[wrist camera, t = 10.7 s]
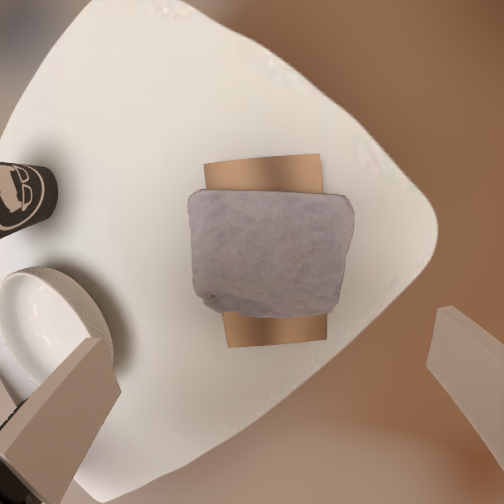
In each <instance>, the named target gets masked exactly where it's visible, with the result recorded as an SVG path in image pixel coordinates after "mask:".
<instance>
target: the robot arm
mask: <svg viewBox="0 0 504 504" xmlns="http://www.w3.org/2000/svg"><path fill="white" fill-rule="evenodd" d="M426 366H427V368H428V369H429V370H430V371H431V373H432V374H433V375H434V376H435V377H436V379H437V380H438V381H439V382H440V384H441V385H442V386H443V388H444V389H445V390H446V391H447V393H448V394H449V395H450V397H451V398H452V399H453V400H454V402H455V403H456V404H457V406H458V407H459V408H460V410H461V411H462V412H463V414H464V415H465V416H466V418H467V419H468V420H469V422H470V423H471V424H472V426H473V427H474V429H475V430H476V431H477V433H478V434H479V435H480V437H481V438H482V440H483V441H484V442H485V444H486V445H487V447H488V448H489V450H490V451H491V453H492V454H493V455H494V457H495V459H496V460H497V461H498V463H499V464H500V466H501V468H502V469H503V471H504V345H503V344H502V343H500V342H499V341H498V340H497V339H495V338H494V337H493V336H492V335H490V334H489V333H488V332H486V331H485V330H484V329H483V328H481V327H480V326H479V325H477V324H476V323H474V322H473V321H472V320H471V319H469V318H468V317H467V316H465V315H464V314H463V313H461V312H460V311H459V310H457V309H456V308H454V307H453V306H447V307H443V308H439V309H437V315H436V322H435V327H434V332H433V337H432V342H431V347H430V351H429V355H428V359H427V363H426ZM120 394H121V389H120V387H119V385H118V382H117V380H116V377H115V375H114V372H113V370H112V367H111V365H110V362H109V359H108V357H107V354H106V351H105V348H104V345H103V343H102V340H101V338H87V337H86V338H85V339H84V340H83V341H82V342H81V343H80V344H79V345H78V346H77V347H76V348H75V349H74V351H73V352H72V353H71V354H70V355H69V356H68V357H67V358H66V359H65V360H64V361H63V362H62V363H61V364H60V365H59V366H58V367H57V368H56V369H55V370H54V371H53V372H52V373H51V374H50V376H49V377H48V378H47V379H46V380H45V381H44V382H43V383H42V384H41V385H40V386H39V387H38V388H37V390H36V391H35V392H34V393H33V394H32V395H31V396H30V397H29V398H28V399H26V400H25V401H23V402H22V403H21V404H20V405H19V406H18V407H17V408H16V409H15V410H14V413H12V414H11V415H10V416H9V417H8V420H6V421H5V422H4V423H3V424H2V425H1V426H0V504H42V502H44V503H46V504H60V502H61V500H62V498H63V496H64V494H65V492H66V491H67V489H68V487H69V485H70V483H71V481H72V479H73V477H74V475H75V473H76V472H77V470H78V468H79V466H80V464H81V462H82V460H83V459H84V457H85V455H86V453H87V451H88V450H89V448H90V446H91V444H92V442H93V441H94V439H95V437H96V435H97V433H98V432H99V430H100V428H101V426H102V425H103V423H104V421H105V419H106V418H107V416H108V414H109V413H110V411H111V409H112V407H113V406H114V404H115V402H116V401H117V399H118V397H119V395H120Z"/></svg>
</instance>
